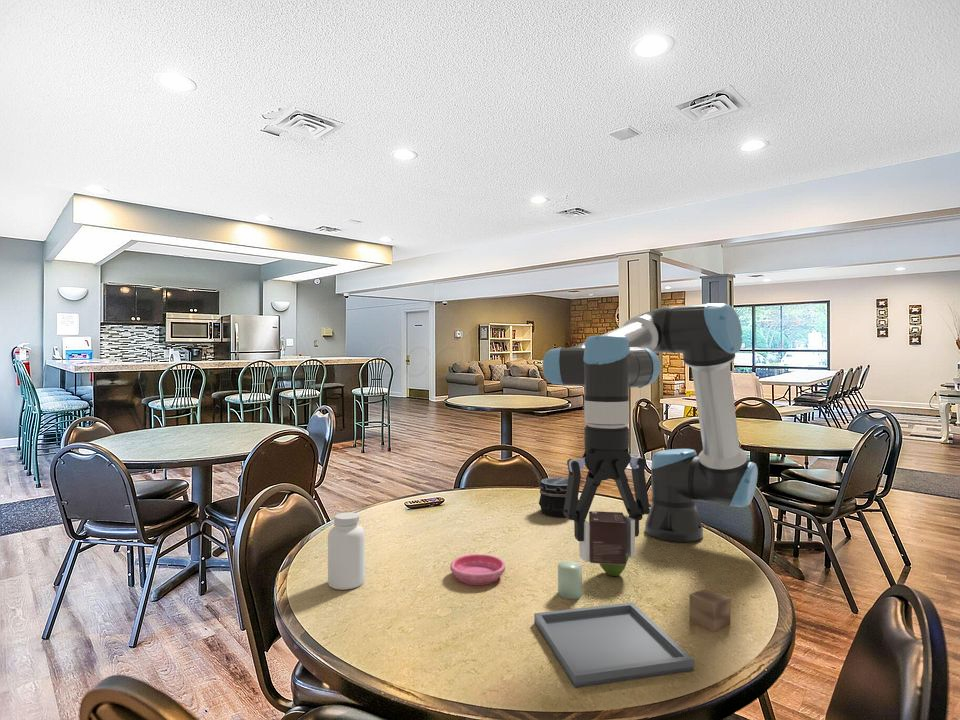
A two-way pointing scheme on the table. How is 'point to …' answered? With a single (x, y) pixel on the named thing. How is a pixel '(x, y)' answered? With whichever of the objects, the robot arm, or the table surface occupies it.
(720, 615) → the walnut block
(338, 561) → the pill bottle
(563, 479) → the container
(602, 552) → the box
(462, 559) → the pink shallow round dish
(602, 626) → the tray
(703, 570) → the table surface
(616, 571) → the apple
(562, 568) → the sage canister
